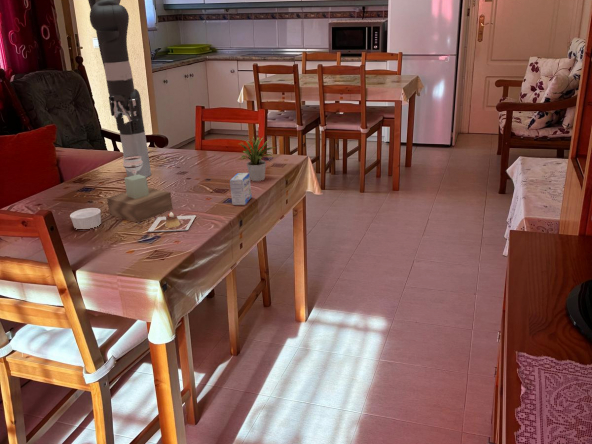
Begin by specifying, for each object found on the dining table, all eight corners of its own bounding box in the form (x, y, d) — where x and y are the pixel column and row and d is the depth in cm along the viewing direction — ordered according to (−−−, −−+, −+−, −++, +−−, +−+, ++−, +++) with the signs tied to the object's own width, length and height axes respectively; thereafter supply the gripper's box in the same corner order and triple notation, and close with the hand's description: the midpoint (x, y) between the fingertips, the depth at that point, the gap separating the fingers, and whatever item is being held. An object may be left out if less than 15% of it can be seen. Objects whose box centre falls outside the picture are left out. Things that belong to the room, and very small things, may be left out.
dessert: (158, 220, 178) (156, 205, 176) (196, 218, 177) (194, 203, 175) (147, 235, 166) (145, 219, 165) (188, 233, 166) (186, 217, 164)
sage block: (127, 196, 182) (124, 177, 180) (141, 192, 185) (138, 174, 183) (134, 199, 179) (131, 180, 176) (149, 195, 182) (146, 176, 180)
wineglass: (150, 189, 207) (145, 156, 203) (134, 194, 203) (128, 161, 198) (140, 186, 212) (135, 154, 207) (124, 191, 207) (118, 158, 203)
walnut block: (110, 216, 183) (106, 198, 181) (144, 203, 194) (142, 186, 191) (138, 223, 175) (134, 205, 173) (172, 209, 186) (170, 192, 183)
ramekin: (85, 233, 169) (82, 219, 168) (66, 228, 174) (63, 215, 172) (109, 223, 176) (106, 210, 175) (90, 219, 181) (87, 206, 179)
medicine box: (245, 205, 184) (242, 179, 181) (232, 205, 185) (229, 179, 182) (251, 197, 191) (249, 172, 188) (239, 197, 192) (236, 172, 189)
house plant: (251, 188, 201) (247, 142, 195) (229, 181, 211) (224, 137, 205) (282, 179, 209) (279, 135, 203) (259, 172, 219) (256, 130, 213)
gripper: (96, 78, 172) (106, 131, 178) (118, 80, 162) (128, 137, 168) (119, 74, 176) (128, 127, 182) (142, 77, 166) (150, 132, 172)
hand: (128, 132), depth 175 cm, fingers open, 8 cm apart
